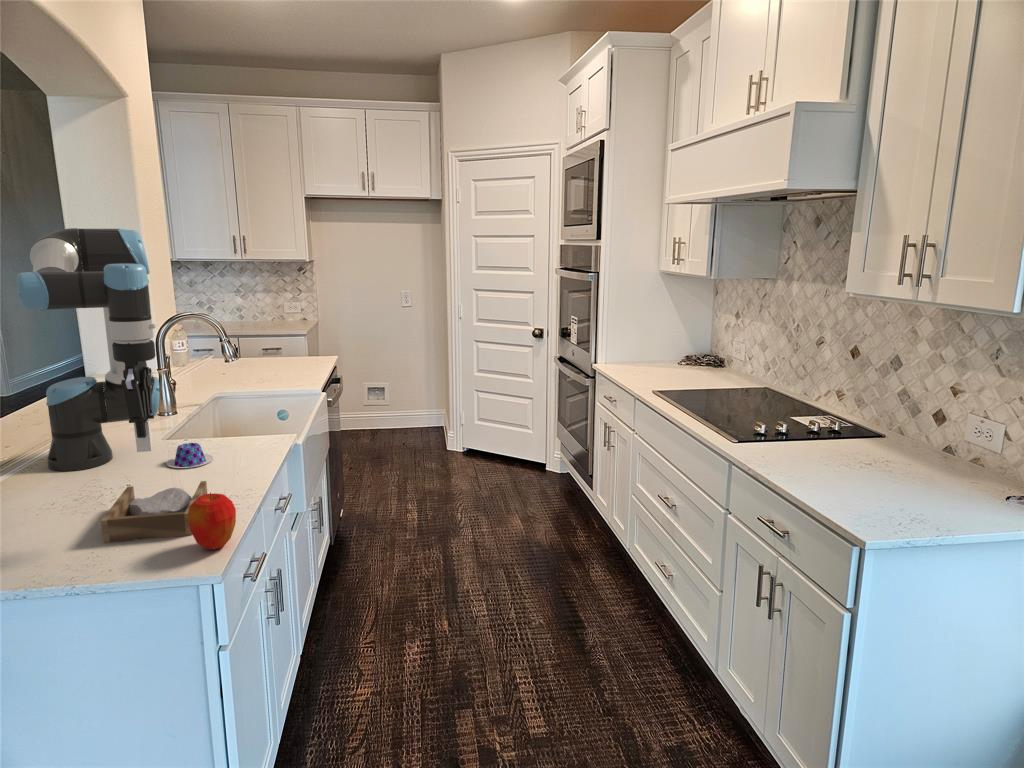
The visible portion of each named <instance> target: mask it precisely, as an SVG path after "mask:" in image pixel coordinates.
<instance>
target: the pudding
mask: <svg viewBox="0 0 1024 768" xmlns="http://www.w3.org/2000/svg"><path fill="white" fill-rule="evenodd" d="M176 448H177V449H176V451H175V452H176V453H175V457H172V458H170V459H168V460H167V461H166V462H165V464H166V466H167V467H169V468H170V467H171V468H173V469H174V468H175V469H189V468H195V467H201V466H204V465H206V464H208V463H210V462H212V461H213V460H214V457H213V455H210V454H208V453H204V451H203V448H202V446H201V445H200V444H199V443H197V442H188V443H182V444H179V445H177V447H176Z"/></svg>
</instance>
